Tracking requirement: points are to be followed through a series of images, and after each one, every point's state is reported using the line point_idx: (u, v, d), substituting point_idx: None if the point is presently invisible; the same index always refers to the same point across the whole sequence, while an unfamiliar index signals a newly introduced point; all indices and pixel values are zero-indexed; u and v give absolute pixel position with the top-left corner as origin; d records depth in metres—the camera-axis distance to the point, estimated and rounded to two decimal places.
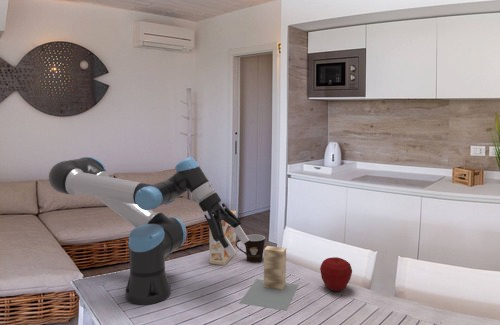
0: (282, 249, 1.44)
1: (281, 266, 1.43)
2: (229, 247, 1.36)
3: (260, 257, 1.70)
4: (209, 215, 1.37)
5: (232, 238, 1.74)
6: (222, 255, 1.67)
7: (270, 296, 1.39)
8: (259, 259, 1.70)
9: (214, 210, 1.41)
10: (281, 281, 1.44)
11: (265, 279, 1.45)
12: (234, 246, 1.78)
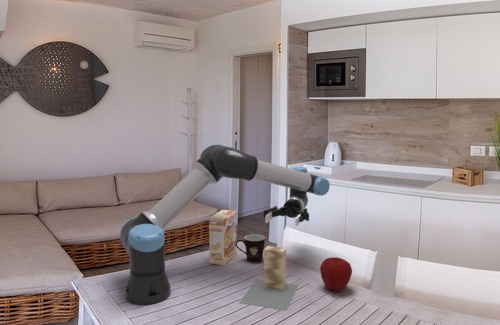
0: (282, 249, 1.44)
1: (281, 266, 1.43)
2: (298, 221, 1.53)
3: (260, 257, 1.70)
4: None
5: (232, 238, 1.74)
6: (222, 255, 1.67)
7: (270, 296, 1.39)
8: (259, 259, 1.70)
9: None
10: (281, 281, 1.44)
11: (265, 279, 1.45)
12: (234, 246, 1.78)
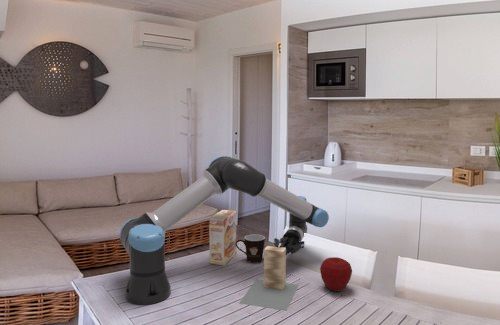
0: (282, 249, 1.44)
1: (281, 266, 1.43)
2: None
3: (260, 257, 1.70)
4: (302, 246, 1.65)
5: (232, 238, 1.74)
6: (222, 255, 1.67)
7: (270, 296, 1.39)
8: (259, 259, 1.70)
9: None
10: (281, 281, 1.44)
11: (265, 279, 1.45)
12: (234, 246, 1.78)
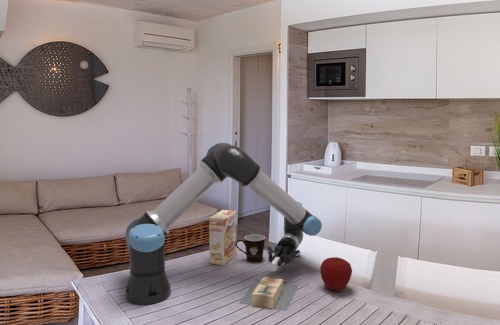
0: (270, 302, 1.31)
1: None
2: (277, 266, 1.45)
3: (260, 257, 1.70)
4: (298, 255, 1.55)
5: (232, 238, 1.74)
6: (222, 255, 1.67)
7: None
8: (259, 259, 1.70)
9: None
10: None
11: None
12: (234, 246, 1.78)
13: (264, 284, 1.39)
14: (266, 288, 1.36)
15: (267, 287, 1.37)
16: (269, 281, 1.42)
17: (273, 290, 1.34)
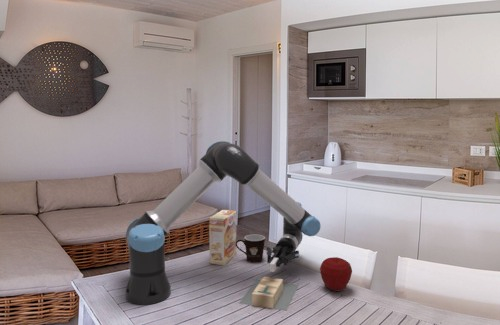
0: (270, 302, 1.31)
1: None
2: (275, 266, 1.44)
3: (260, 257, 1.70)
4: (297, 256, 1.54)
5: (232, 238, 1.74)
6: (222, 255, 1.67)
7: None
8: (259, 259, 1.70)
9: None
10: None
11: None
12: (234, 246, 1.78)
13: (264, 284, 1.39)
14: (266, 288, 1.36)
15: (267, 287, 1.37)
16: (269, 281, 1.42)
17: (273, 290, 1.34)
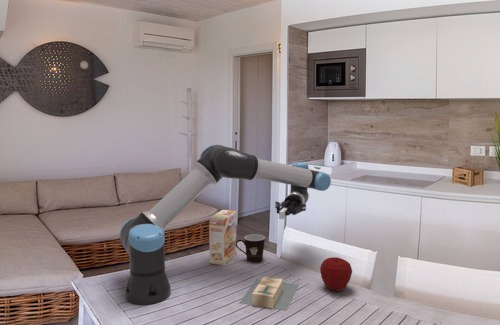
0: (270, 302, 1.31)
1: None
2: (284, 215, 1.53)
3: (260, 257, 1.70)
4: (304, 209, 1.64)
5: (232, 238, 1.74)
6: (222, 255, 1.67)
7: None
8: (259, 259, 1.70)
9: None
10: None
11: None
12: (234, 246, 1.78)
13: (264, 284, 1.39)
14: (266, 288, 1.36)
15: (267, 287, 1.37)
16: (269, 281, 1.42)
17: (273, 290, 1.34)
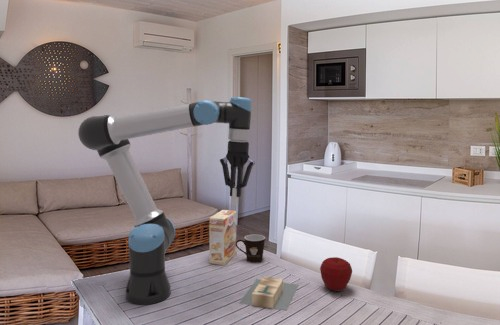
0: (270, 302, 1.31)
1: None
2: (237, 198, 1.49)
3: (260, 257, 1.70)
4: (253, 165, 1.46)
5: (232, 238, 1.74)
6: (222, 255, 1.67)
7: None
8: (259, 259, 1.70)
9: None
10: None
11: None
12: (234, 246, 1.78)
13: (264, 284, 1.39)
14: (266, 288, 1.36)
15: (267, 287, 1.37)
16: (269, 281, 1.42)
17: (273, 290, 1.34)
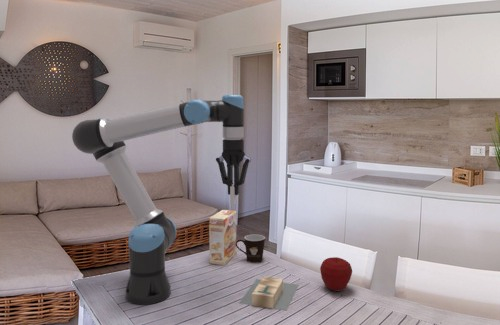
0: (270, 302, 1.31)
1: None
2: (235, 196, 1.49)
3: (260, 257, 1.70)
4: (249, 162, 1.46)
5: (232, 238, 1.74)
6: (222, 255, 1.67)
7: None
8: (259, 259, 1.70)
9: None
10: None
11: None
12: (234, 246, 1.78)
13: (264, 284, 1.39)
14: (266, 288, 1.36)
15: (267, 287, 1.37)
16: (269, 281, 1.42)
17: (273, 290, 1.34)
